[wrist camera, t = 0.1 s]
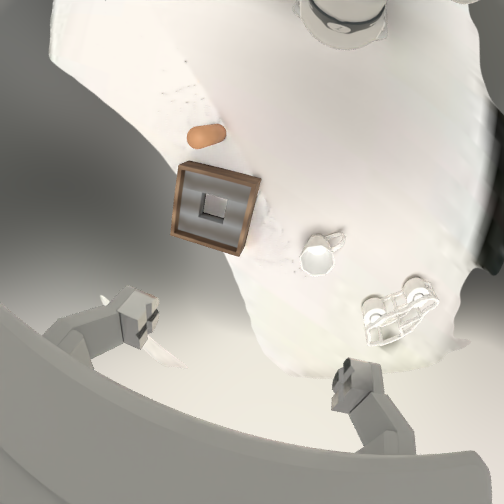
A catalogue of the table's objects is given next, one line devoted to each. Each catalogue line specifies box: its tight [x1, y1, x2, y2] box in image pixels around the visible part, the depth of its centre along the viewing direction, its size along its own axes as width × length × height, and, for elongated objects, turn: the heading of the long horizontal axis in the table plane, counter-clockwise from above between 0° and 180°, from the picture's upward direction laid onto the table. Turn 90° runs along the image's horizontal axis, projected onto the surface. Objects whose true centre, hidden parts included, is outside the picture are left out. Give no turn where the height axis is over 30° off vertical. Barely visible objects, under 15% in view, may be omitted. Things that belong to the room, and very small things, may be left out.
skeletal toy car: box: [362, 278, 439, 346], centre depth 58 cm, size 20×11×7 cm, turn 126°
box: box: [170, 161, 261, 257], centre depth 58 cm, size 16×16×5 cm
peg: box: [187, 124, 226, 149], centre depth 48 cm, size 4×4×10 cm
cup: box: [299, 232, 346, 277], centre depth 55 cm, size 7×10×8 cm
